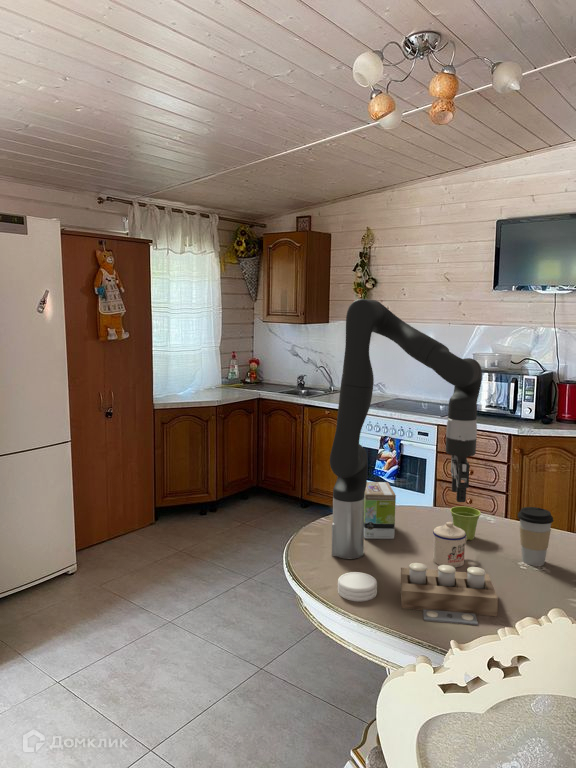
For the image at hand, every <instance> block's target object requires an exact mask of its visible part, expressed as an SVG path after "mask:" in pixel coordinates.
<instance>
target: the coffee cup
mask: <svg viewBox="0 0 576 768" xmlns="http://www.w3.org/2000/svg"><path fill="white" fill-rule="evenodd" d="M517 518H518V519H519V538H520V547H521V557H522V559H521V560H522V562H523V563H524V564H526V565H530V566H533V567H534V566H535V567H541V566H544V564H545V563H546V557H547V553H548V552H547V550H548V548H549V541H550V538H551V537H550V535H551V530H552V529H551V526H552V523H553V522H554V516H552V513H551V511H549V510H547V509H544V508H541V507H537V506H536V507H534V506H525V507H521V508H520V511H519V512H518V513H517Z"/></svg>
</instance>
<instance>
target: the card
mask: <svg viewBox="0 0 576 768" xmlns="http://www.w3.org/2000/svg"><path fill="white" fill-rule="evenodd" d="M422 615H423V620H424V621H427V622H439V623H449V624H451V623H452V624H460V625H461V624H463V625H470V626H471V625H472V626H478V625H479V622H478V619H477V615H475V614H473V613H461V612H450V611H438V610H426V609H423V610H422Z"/></svg>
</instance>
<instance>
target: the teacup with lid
mask: <svg viewBox="0 0 576 768" xmlns="http://www.w3.org/2000/svg"><path fill="white" fill-rule="evenodd" d="M432 534H433V546H432V547H433V550H432V551H433V552H432V553H433V554H432V556H433V557H432V560H433V563H435V564H437V565H438V566H440V565H450V566H453V567H454V568H455V569H456V568H458V567H459V568H460V567H462V566H463V565H464V564H465V551H466V550H465V549H466V548H465V547H466V544H467V541H468V540H467V537H466V534H465V531H464V530H462V529H461V528H458V527H456V526H454V525H453V521H447V522H445V524H442V525H438V526H436V527H434V529H433V531H432Z"/></svg>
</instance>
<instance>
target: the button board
mask: <svg viewBox="0 0 576 768" xmlns="http://www.w3.org/2000/svg"><path fill="white" fill-rule="evenodd" d="M467 576H468V571H467V572H466V571H455V586H454V587H446V586H440V585H439V584H438V569H426V583H425V584H424V585H420V584H411V583H410V582H409V577H410V568H409V567H400V580H399V581H400V585H399V586H400V600H401V601H400V602H401V603H400V604H401V609H403V610H404V609H405V610H417V611H423V609H426V610H438V611H450V612H461V613H473V614H475V615H476V616H487V617H498V607H499V605H498V601H499V600H498V599H499V598H498V595H497V593H496V591H495V587H494V586H493V585H494V584H493V583H492V580H491V578H490V574H489V573H485V581H484V589H472V588H469V587H468V586H467Z"/></svg>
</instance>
